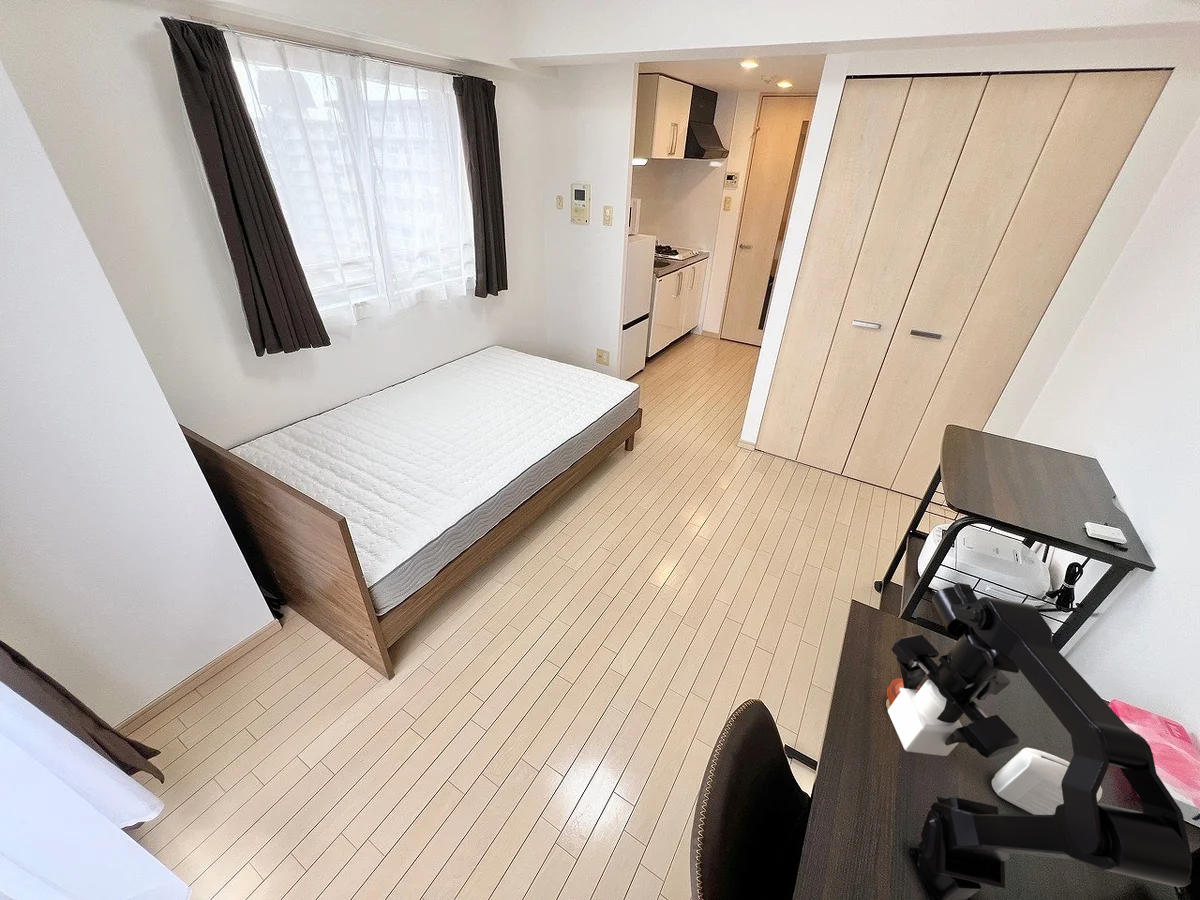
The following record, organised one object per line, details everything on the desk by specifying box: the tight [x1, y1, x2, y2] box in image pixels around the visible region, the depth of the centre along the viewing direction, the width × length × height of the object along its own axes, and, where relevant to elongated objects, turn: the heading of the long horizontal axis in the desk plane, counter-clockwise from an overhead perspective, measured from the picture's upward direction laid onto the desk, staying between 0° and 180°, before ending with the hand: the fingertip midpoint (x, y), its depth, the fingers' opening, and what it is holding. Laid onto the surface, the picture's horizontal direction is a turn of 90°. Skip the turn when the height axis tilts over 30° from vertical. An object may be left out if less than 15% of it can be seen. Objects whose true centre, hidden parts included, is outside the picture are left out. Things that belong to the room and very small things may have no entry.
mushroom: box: [885, 677, 922, 710], centre depth 93 cm, size 8×8×7 cm
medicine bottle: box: [887, 678, 965, 757], centre depth 80 cm, size 7×7×12 cm
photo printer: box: [991, 747, 1103, 815], centre depth 79 cm, size 10×4×12 cm, turn 60°
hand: (927, 718), depth 81 cm, fingers closed on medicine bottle, 8 cm apart
